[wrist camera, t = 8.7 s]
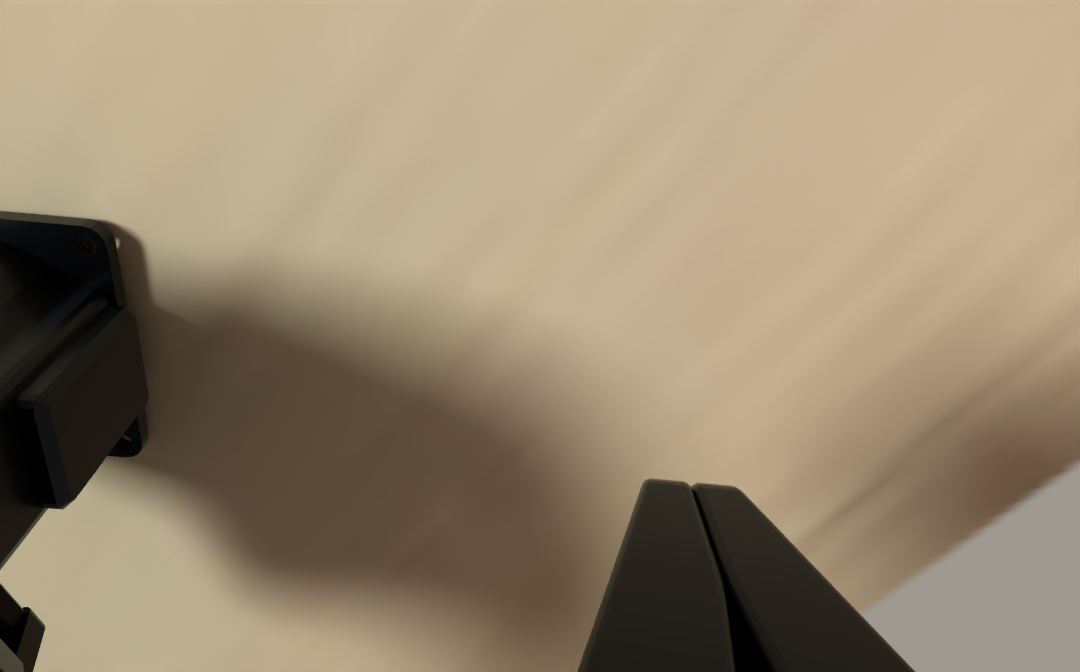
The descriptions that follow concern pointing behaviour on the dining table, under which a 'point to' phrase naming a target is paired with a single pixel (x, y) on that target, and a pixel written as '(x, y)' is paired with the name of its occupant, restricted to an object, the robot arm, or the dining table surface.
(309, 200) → the dining table surface
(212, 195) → the dining table surface
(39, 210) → the dining table surface
